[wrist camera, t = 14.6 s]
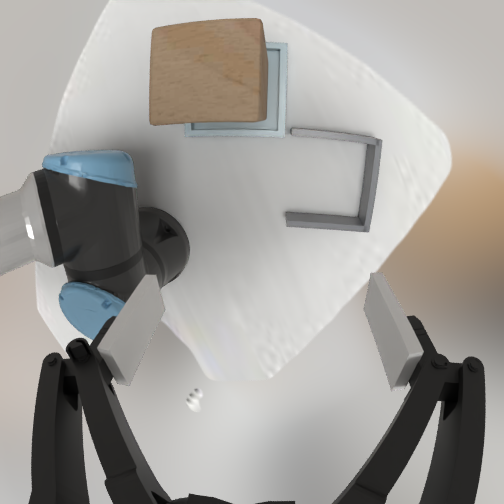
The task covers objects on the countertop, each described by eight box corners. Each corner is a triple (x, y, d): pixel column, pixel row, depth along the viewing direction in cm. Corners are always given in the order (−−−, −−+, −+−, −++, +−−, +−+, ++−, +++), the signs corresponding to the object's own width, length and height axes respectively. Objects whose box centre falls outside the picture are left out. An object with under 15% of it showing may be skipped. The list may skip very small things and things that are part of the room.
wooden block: (203, 61, 35) (150, 27, 18) (268, 60, 35) (262, 16, 17) (202, 120, 40) (147, 126, 22) (266, 120, 39) (259, 122, 22)
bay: (285, 217, 47) (286, 226, 43) (290, 127, 40) (292, 128, 36) (362, 223, 46) (368, 232, 43) (373, 137, 39) (382, 139, 36)
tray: (189, 135, 42) (184, 136, 39) (190, 49, 35) (186, 46, 33) (284, 136, 41) (284, 137, 39) (286, 47, 34) (287, 43, 32)
